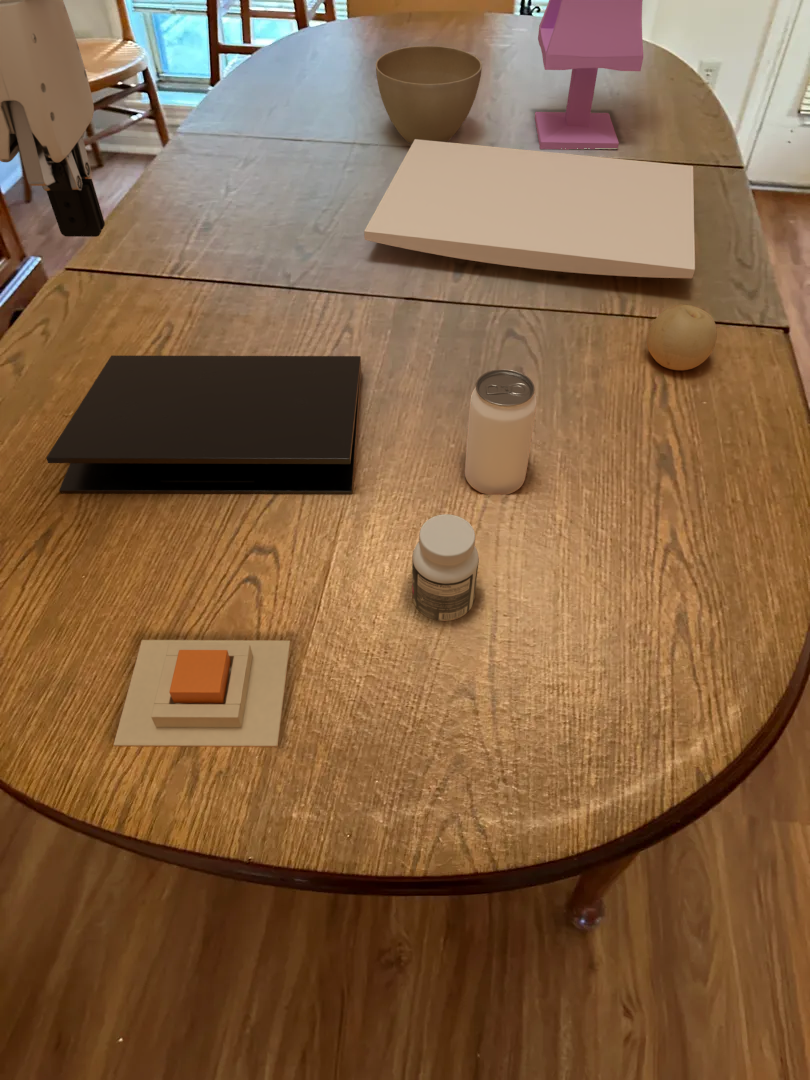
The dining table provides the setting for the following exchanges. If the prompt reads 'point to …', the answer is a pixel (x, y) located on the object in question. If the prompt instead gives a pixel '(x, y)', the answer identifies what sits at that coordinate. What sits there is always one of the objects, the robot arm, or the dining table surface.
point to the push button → (200, 676)
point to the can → (500, 432)
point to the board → (540, 210)
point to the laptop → (214, 477)
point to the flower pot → (428, 90)
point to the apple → (682, 337)
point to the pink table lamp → (586, 65)
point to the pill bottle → (445, 568)
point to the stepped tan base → (230, 724)
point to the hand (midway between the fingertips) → (84, 231)
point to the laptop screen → (215, 411)
